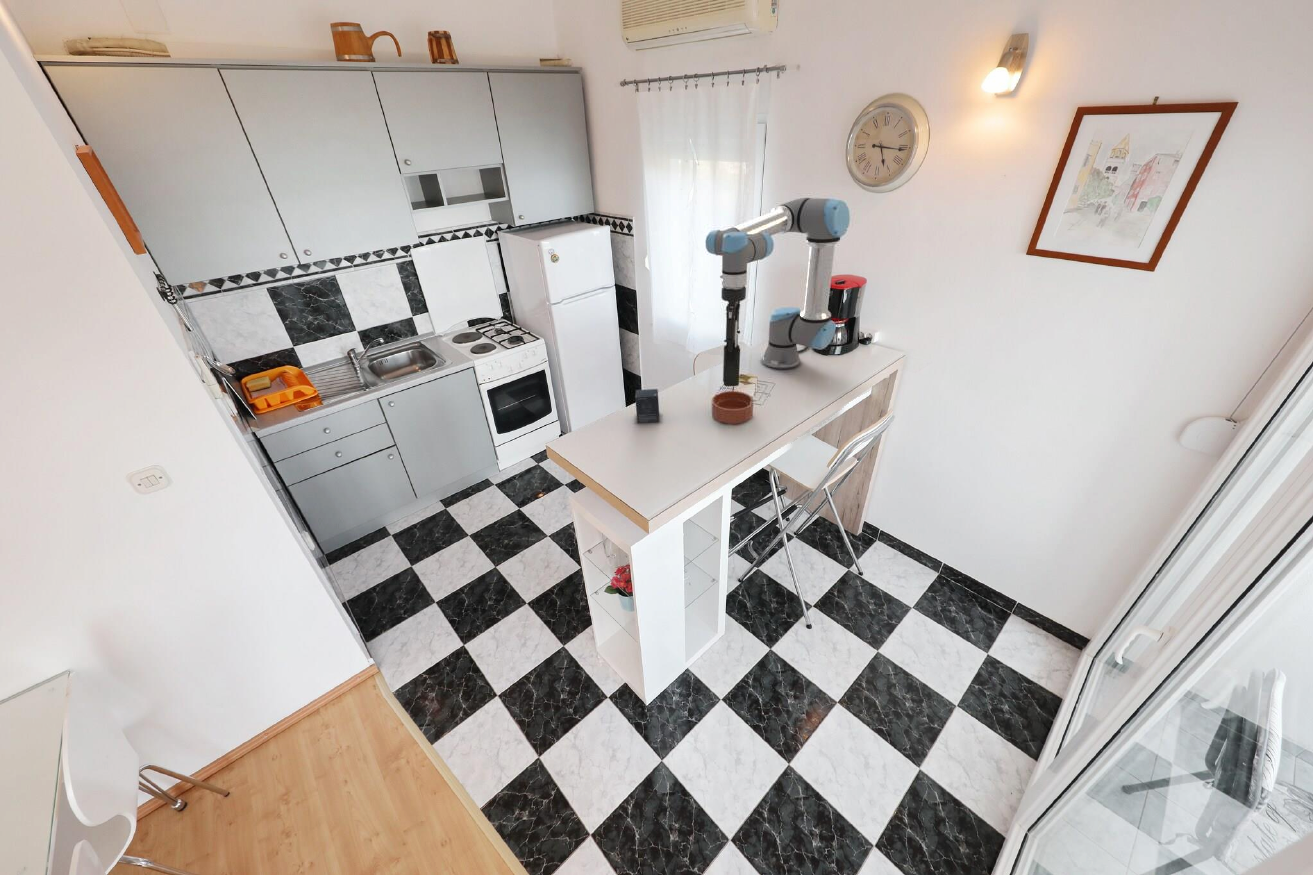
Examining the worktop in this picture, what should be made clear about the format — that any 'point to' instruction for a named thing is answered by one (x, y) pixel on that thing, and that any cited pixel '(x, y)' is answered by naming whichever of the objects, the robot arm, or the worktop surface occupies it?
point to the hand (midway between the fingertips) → (731, 356)
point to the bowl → (732, 407)
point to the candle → (732, 366)
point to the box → (647, 405)
